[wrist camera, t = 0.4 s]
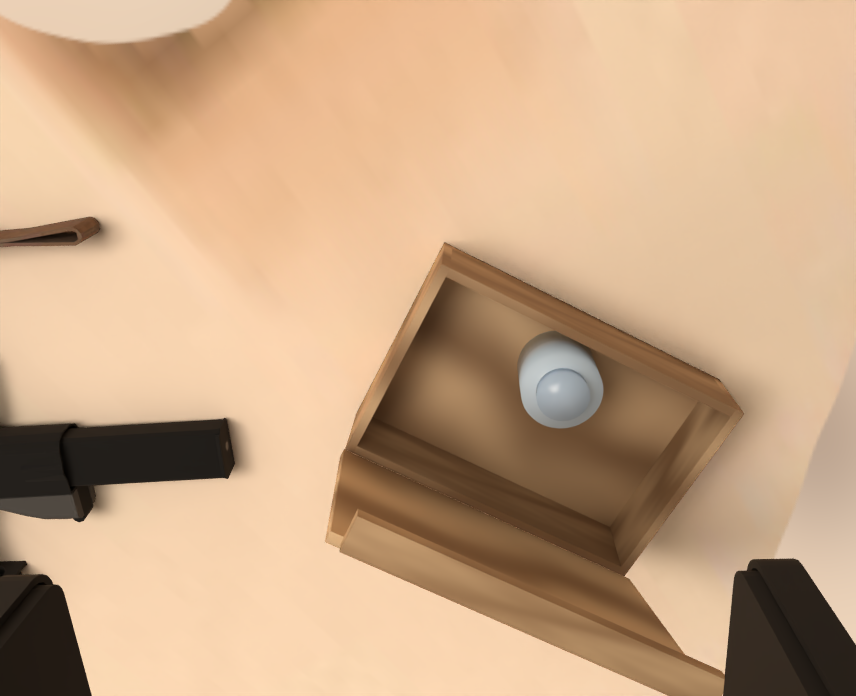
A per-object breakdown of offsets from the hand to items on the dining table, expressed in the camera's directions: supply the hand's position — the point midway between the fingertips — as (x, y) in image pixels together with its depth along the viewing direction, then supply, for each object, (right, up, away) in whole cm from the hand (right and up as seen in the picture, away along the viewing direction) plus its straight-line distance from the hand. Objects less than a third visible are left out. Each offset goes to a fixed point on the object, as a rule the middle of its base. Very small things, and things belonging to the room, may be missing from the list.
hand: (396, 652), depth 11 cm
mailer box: (+7, +1, +35) cm, 36 cm away
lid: (+5, -5, +26) cm, 27 cm away
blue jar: (+8, +3, +34) cm, 35 cm away
